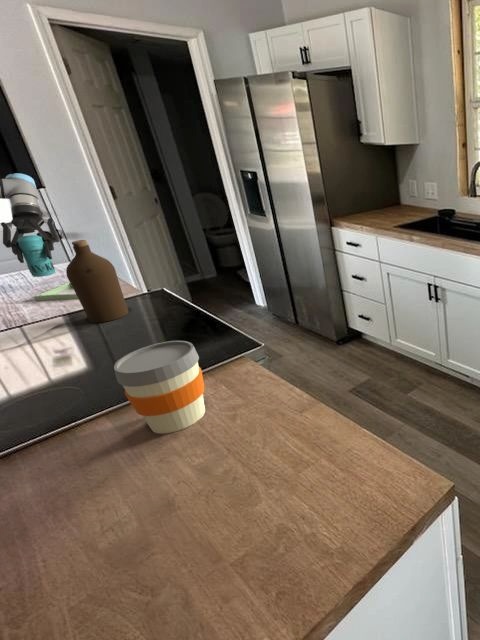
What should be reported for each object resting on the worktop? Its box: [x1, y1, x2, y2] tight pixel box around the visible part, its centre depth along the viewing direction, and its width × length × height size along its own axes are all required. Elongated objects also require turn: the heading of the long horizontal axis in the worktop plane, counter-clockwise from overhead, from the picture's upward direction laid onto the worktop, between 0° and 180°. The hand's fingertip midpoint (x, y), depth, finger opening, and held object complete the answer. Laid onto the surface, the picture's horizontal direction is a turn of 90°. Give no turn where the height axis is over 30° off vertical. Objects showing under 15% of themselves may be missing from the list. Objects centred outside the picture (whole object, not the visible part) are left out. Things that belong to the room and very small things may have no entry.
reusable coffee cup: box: [113, 340, 206, 435], centre depth 82 cm, size 13×13×15 cm
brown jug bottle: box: [66, 239, 129, 324], centre depth 127 cm, size 11×11×25 cm
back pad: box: [33, 281, 79, 302], centre depth 150 cm, size 14×14×2 cm
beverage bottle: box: [17, 227, 56, 278], centre depth 155 cm, size 6×7×20 cm
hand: (35, 259), depth 153 cm, fingers closed on beverage bottle, 6 cm apart
